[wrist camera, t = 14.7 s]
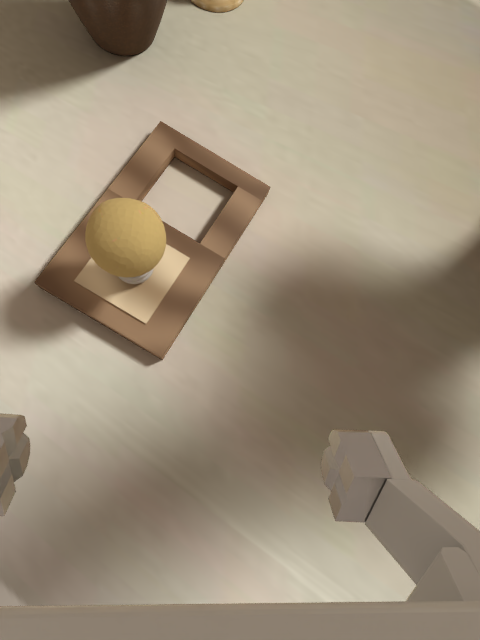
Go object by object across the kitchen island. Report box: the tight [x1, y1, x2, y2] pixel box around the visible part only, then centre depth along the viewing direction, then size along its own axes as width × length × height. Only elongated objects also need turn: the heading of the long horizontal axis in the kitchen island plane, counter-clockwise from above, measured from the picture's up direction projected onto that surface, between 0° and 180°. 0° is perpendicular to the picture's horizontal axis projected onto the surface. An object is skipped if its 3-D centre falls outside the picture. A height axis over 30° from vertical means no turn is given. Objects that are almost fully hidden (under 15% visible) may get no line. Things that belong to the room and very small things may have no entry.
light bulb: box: [85, 198, 166, 284], centre depth 35 cm, size 6×6×10 cm
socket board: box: [35, 121, 270, 360], centre depth 42 cm, size 22×14×2 cm, turn 150°
